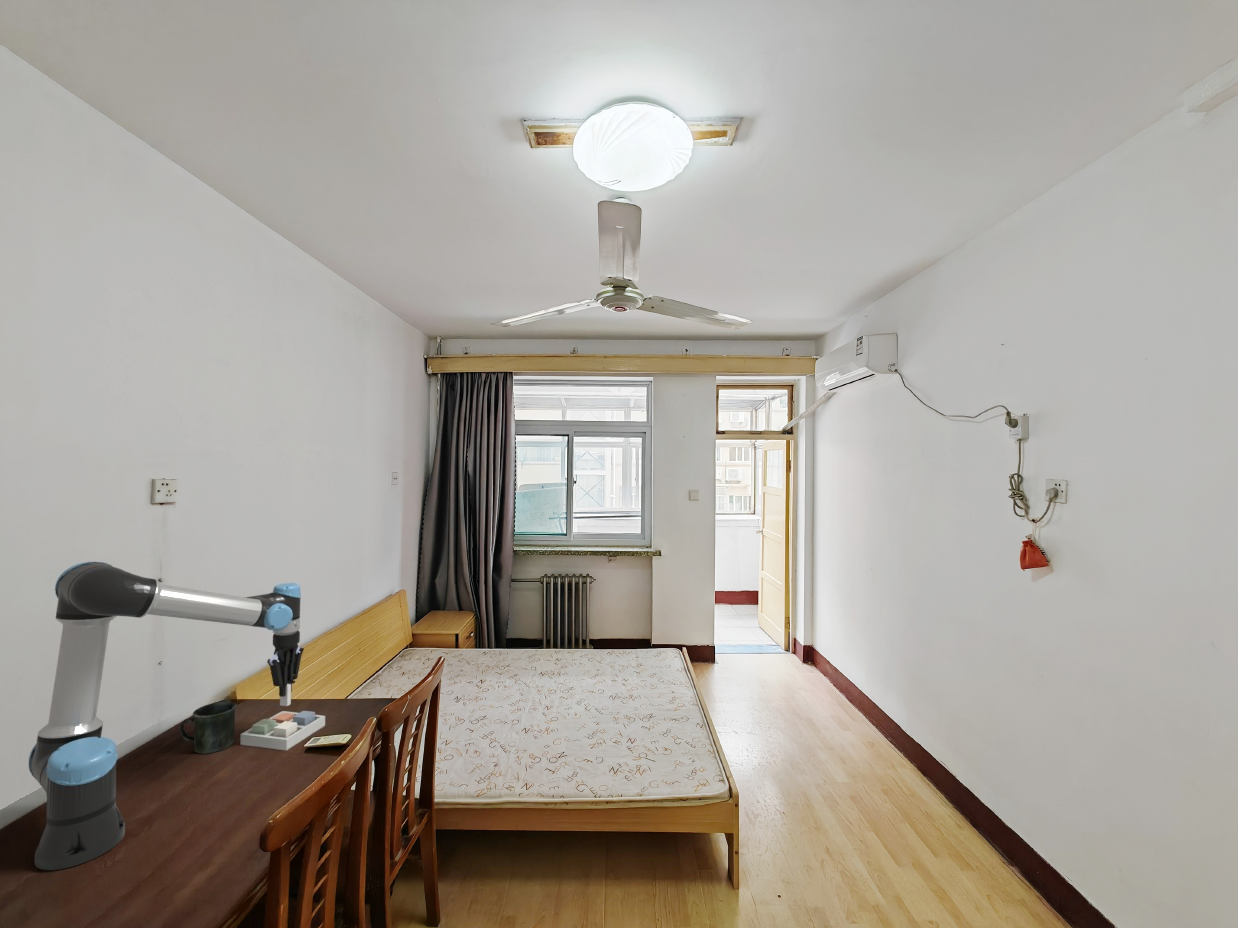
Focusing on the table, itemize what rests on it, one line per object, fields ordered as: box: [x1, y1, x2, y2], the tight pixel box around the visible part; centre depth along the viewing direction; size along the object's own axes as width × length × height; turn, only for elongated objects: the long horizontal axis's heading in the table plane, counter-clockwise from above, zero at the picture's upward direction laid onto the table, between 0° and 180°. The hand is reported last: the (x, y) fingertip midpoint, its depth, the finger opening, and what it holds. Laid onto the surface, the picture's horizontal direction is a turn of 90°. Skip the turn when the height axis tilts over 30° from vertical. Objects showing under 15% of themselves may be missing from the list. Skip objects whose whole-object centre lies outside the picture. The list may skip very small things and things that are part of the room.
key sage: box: [251, 718, 276, 734], centre depth 180 cm, size 5×5×3 cm
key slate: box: [293, 710, 316, 725], centre depth 187 cm, size 5×5×3 cm
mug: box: [179, 701, 237, 755], centre depth 175 cm, size 11×15×12 cm
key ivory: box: [274, 721, 297, 737], centre depth 179 cm, size 5×5×3 cm
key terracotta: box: [272, 713, 295, 723], centre depth 188 cm, size 5×5×3 cm
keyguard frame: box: [240, 710, 326, 752], centre depth 183 cm, size 17×17×3 cm
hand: (285, 704), depth 179 cm, fingers closed
